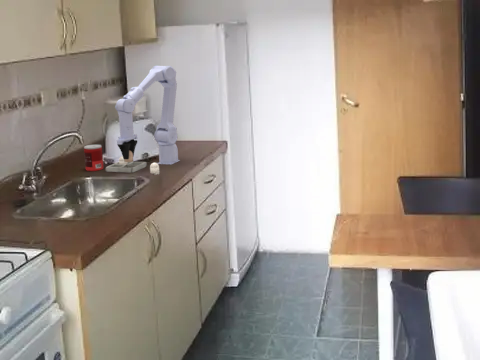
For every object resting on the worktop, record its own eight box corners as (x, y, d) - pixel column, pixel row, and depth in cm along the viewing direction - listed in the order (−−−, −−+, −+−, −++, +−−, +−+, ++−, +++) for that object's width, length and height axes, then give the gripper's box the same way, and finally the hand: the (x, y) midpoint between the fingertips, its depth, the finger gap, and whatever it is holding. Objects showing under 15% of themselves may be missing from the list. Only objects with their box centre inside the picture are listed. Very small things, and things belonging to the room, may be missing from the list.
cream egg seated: (122, 165, 305) (121, 155, 304) (129, 166, 304) (128, 155, 302) (117, 167, 301) (117, 156, 300) (125, 168, 300) (124, 157, 299)
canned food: (105, 168, 304) (103, 144, 301) (100, 172, 296) (98, 147, 293) (89, 168, 304) (87, 144, 302) (83, 172, 297) (81, 147, 294)
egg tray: (120, 166, 307) (120, 161, 306) (147, 167, 303) (146, 162, 302) (105, 172, 295) (105, 167, 294) (133, 173, 291) (132, 168, 290)
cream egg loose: (152, 172, 292) (152, 161, 291) (160, 173, 290) (160, 161, 289) (148, 174, 288) (148, 163, 287) (157, 175, 287) (156, 163, 286)
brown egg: (127, 160, 296) (126, 149, 295) (134, 160, 295) (134, 149, 294) (122, 162, 293) (122, 150, 292) (130, 162, 291) (130, 151, 290)
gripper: (126, 124, 298) (128, 154, 301) (109, 129, 285) (112, 161, 288) (140, 124, 296) (142, 155, 299) (124, 129, 283) (126, 161, 286)
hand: (128, 158), depth 293 cm, fingers closed on brown egg, 4 cm apart
